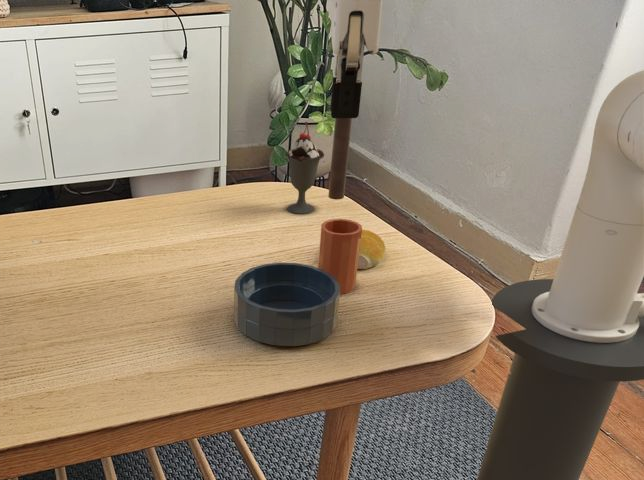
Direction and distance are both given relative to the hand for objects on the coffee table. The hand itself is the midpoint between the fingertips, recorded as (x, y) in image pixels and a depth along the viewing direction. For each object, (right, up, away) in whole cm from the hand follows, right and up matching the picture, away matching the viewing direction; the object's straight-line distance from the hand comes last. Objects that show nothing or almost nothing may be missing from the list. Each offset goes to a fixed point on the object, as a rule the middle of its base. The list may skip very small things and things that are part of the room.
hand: (344, 113), depth 78 cm
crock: (+2, -19, +15) cm, 24 cm away
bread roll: (+7, -15, +22) cm, 27 cm away
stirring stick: (0, -9, +6) cm, 11 cm away
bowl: (-6, -25, +7) cm, 27 cm away
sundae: (+2, -3, +39) cm, 39 cm away
